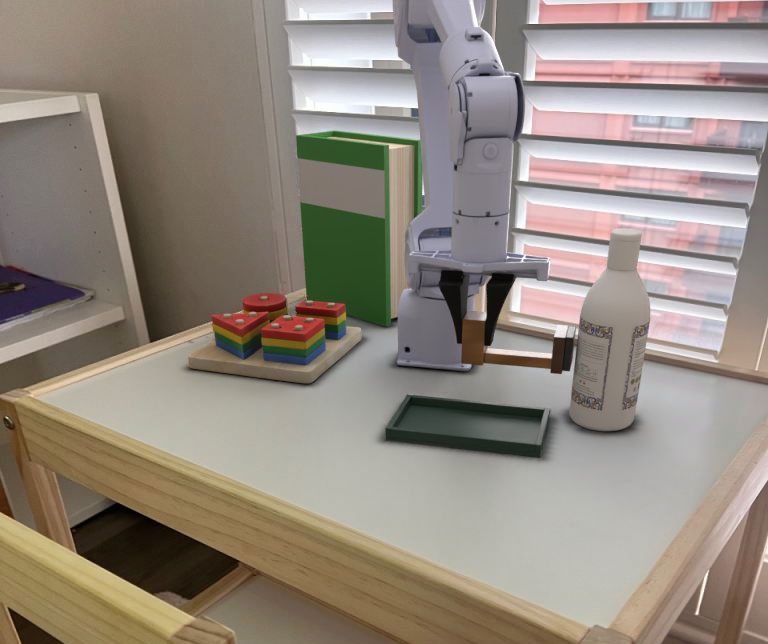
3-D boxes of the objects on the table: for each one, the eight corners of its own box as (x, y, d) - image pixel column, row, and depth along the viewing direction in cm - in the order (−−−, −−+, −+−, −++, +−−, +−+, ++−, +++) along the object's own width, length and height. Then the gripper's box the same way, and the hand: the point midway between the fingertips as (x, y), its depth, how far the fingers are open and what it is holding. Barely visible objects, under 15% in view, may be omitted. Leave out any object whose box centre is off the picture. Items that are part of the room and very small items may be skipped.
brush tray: (385, 440, 85) (385, 428, 84) (407, 405, 92) (406, 394, 92) (539, 457, 81) (541, 445, 80) (549, 419, 88) (550, 408, 88)
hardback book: (421, 315, 120) (422, 139, 108) (386, 326, 116) (384, 145, 103) (341, 292, 131) (334, 130, 118) (306, 302, 126) (295, 135, 114)
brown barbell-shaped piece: (460, 365, 87) (461, 320, 85) (466, 352, 91) (468, 309, 88) (569, 375, 84) (574, 329, 82) (572, 361, 88) (577, 316, 85)
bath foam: (624, 406, 91) (652, 222, 81) (641, 432, 85) (673, 238, 75) (563, 406, 91) (583, 224, 81) (575, 433, 85) (598, 240, 75)
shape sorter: (310, 385, 98) (307, 337, 95) (187, 369, 103) (180, 322, 100) (363, 338, 112) (361, 295, 108) (252, 326, 117) (247, 284, 114)
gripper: (400, 216, 79) (401, 348, 86) (549, 223, 75) (537, 360, 83) (417, 203, 85) (416, 327, 92) (556, 208, 81) (544, 337, 88)
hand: (474, 341), depth 88 cm, fingers closed on brown barbell-shaped piece, 2 cm apart
